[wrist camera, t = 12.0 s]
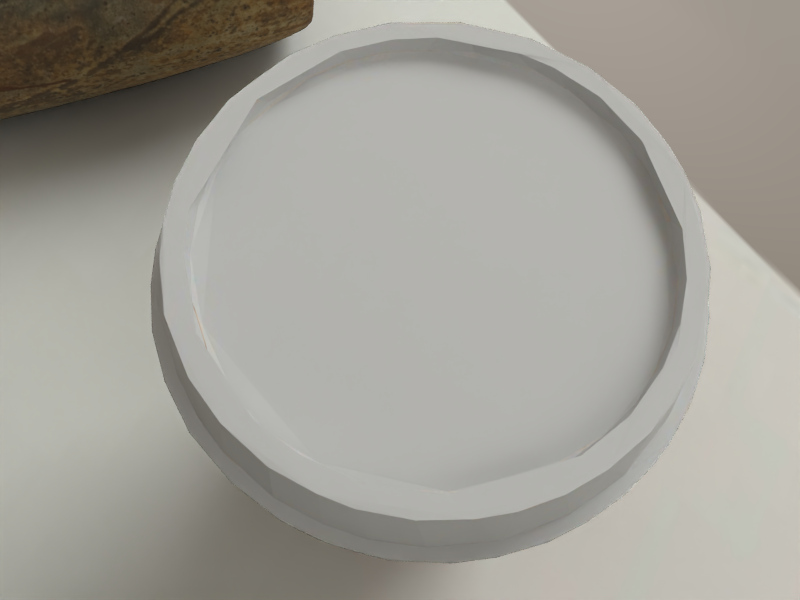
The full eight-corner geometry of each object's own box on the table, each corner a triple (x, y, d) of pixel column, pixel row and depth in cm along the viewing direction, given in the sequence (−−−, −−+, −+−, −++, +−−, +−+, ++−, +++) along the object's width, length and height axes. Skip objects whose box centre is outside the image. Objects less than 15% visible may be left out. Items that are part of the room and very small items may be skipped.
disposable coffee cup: (438, 219, 25) (481, -78, 14) (629, 446, 22) (871, 300, 11) (195, 379, 23) (16, 177, 12) (374, 652, 20) (364, 724, 9)
